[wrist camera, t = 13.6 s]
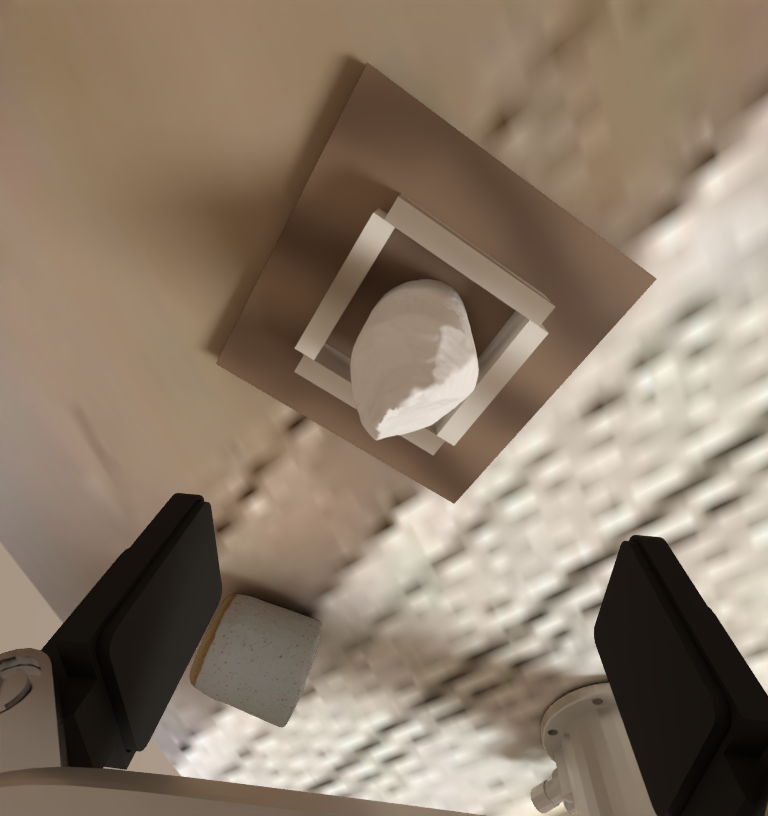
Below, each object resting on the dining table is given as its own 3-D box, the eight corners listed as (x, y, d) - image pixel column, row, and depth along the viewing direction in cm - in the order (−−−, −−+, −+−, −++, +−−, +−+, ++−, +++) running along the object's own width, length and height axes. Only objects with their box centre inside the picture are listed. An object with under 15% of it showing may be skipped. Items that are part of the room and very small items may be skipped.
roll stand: (453, 494, 34) (456, 533, 30) (222, 358, 31) (194, 382, 27) (648, 275, 26) (683, 291, 23) (369, 66, 23) (358, 47, 20)
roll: (412, 516, 19) (294, 431, 18) (418, 391, 30) (346, 333, 28) (527, 413, 16) (402, 307, 15) (489, 318, 27) (414, 251, 26)
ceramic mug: (234, 569, 39) (191, 656, 32) (330, 602, 40) (308, 694, 33) (209, 647, 44) (167, 737, 37) (295, 676, 44) (269, 769, 37)
